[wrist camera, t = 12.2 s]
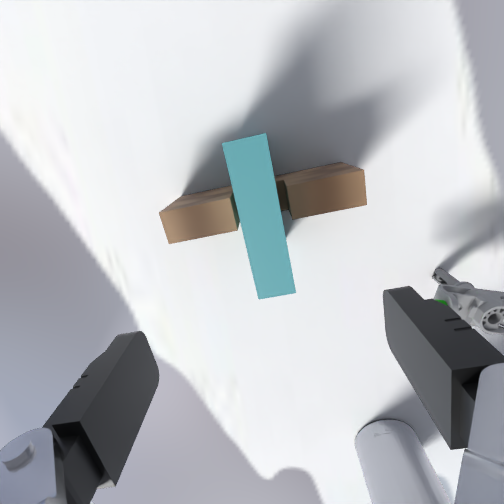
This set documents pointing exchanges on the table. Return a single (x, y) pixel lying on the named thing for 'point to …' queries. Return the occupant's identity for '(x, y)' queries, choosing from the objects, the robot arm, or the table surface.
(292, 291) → the teal notched block
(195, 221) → the walnut slotted plate
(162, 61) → the table surface
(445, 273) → the mechanical component
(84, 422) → the robot arm
